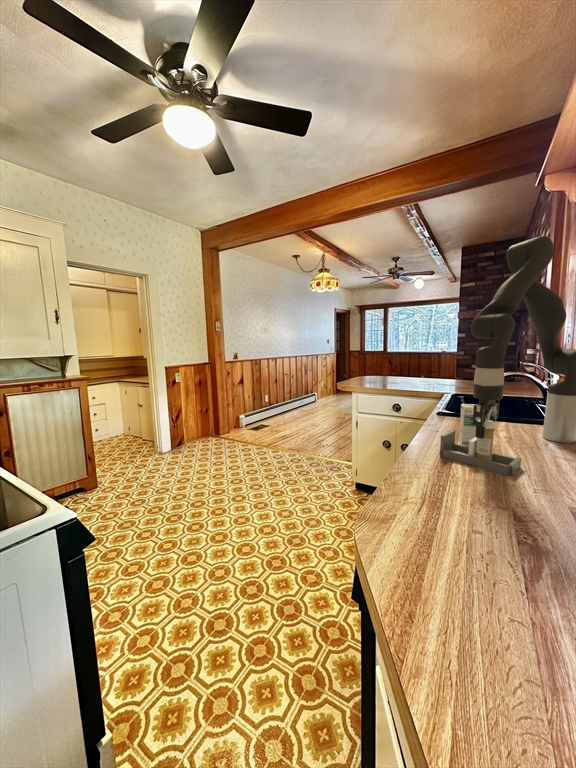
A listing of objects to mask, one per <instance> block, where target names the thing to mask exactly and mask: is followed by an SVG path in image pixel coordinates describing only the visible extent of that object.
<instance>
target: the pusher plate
mask: <svg viewBox="0 0 576 768" xmlns="http://www.w3.org/2000/svg"><path fill="white" fill-rule="evenodd" d="M476 441H477V438H476V437H475V438H473V439H471V440H470V441H469V446H468V447H469V452H468V455H470V456H476Z"/></svg>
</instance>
